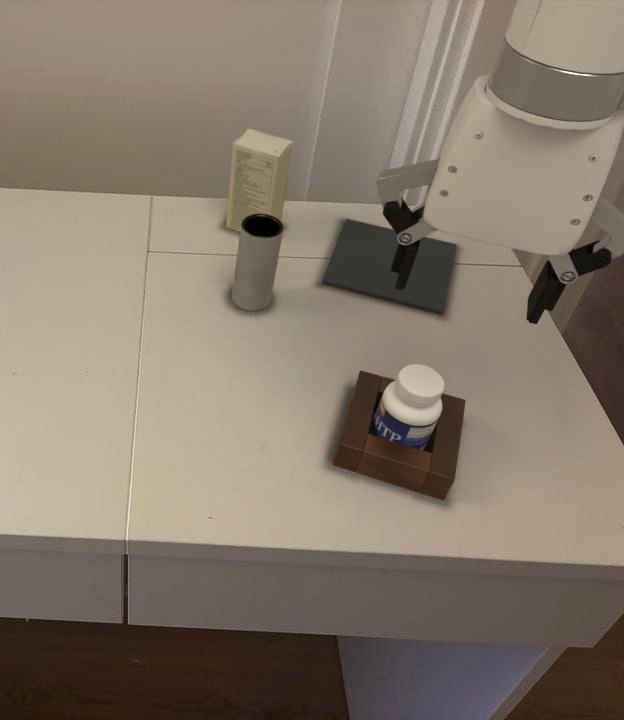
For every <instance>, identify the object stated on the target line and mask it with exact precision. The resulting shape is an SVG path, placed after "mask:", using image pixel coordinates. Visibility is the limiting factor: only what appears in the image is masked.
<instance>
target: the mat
mask: <svg viewBox="0 0 624 720" xmlns="http://www.w3.org/2000/svg"><path fill="white" fill-rule="evenodd" d="M397 236H398V235H397V234H396V232H395V231H394V230H393V228H388V227H384V226H379V225H376V224H371V223H367V222H363V221H358V220H355V219H349V218H345V221H344V224H343V226H342V228H341V231H340V234H339V236H338V239H337V242H336V244H335V247H334V249H333V252H332V255H331V258H330V260H329V262H328V265H327V268H326V271H325V273H324V276H323V278H322V281H321V284H322V285H325V286H328V287H332V288H335V289H339V290H343V291H348V292H352V293H356V294H360V295H363V296H367V297H370V298H375V299H378V300H383V301H386V302H389V303H390V302H391V303H394V304H399V305H402V306H405V307H408V308H409V307H410V308H413V309H416V310H421V311H424V312H425V311H426V312H428V313H429V312H430V313H432V314H437V315H440V316H442V315H443V314H444V311H445V306H446V302H447V295H448V290H449V285H450V282H451V281H450V280H451V275H452V270H453V264H454V260H455V253H456V248H457V244H456V243H453V242H449V241H444V240H440V239H436V238H432V237H427V236H425V237H423V238H421V240H420V245H419V249H418V252H417V255H416V258H415V261H414V264H413V267H412V270H411V272H410V275H409V278H408V281H407V284H406V287H405V289H402V290H398V289H395V285H396V282H397V278H398V274H399V273H396V272H392V271H390V270H391V266H392V263H393V259H394V256H395V253H396V250H397V247H398V244H399V242H398V241H397Z"/></svg>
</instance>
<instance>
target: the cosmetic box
mask: <svg viewBox="0 0 624 720" xmlns="http://www.w3.org/2000/svg"><path fill="white" fill-rule="evenodd" d="M293 145H294V141H293V140H292V139H291V140H290V139H287V138H283V137H280V136H276V135H274V134H270V133H267V132H266V133H265V132H263V131H260V130H259V131H258V130H254V129H251V128H247V129H246V130H245V131H243V133H242V134H240V135H239V136H238V137H237V138H236V139H235V140H234V141H232V150H231V163H230V172H229V173H230V175H229V187H228V199H227V209H226V222H225V223H226V224H225V227H226V228H228V229H230V230H233V231H236V232H239V233H240V229H241V222H242V220H243V219H244V218H245V217H247V216H249V215H252V214H268V215H271V216H274V217H276V218H277V219H279V220H280V221H281V222H282V220H283V214H284V207H285V199H286V193H287V185H288V180H289V173H290V167H291V166H290V165H291V159H292V151H293Z"/></svg>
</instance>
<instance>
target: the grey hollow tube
mask: <svg viewBox="0 0 624 720" xmlns="http://www.w3.org/2000/svg"><path fill="white" fill-rule="evenodd" d="M284 229H285V228H284V224H283V222H282V220H281V221H280V220H279V219H277V218H276V217H274V216H271V215H268V214H252V215H249V216H247V217H245V218H244V219H243V220H242V222H241V229H240V232H239V236H238V237H239V238H238V244H237V250H236V251H237V252H236V259H235V260H236V262H235V267H234V275H233V281H232V282H233V283H232V289H231V300H232V302H233V304H235V306H237V307H238V308H240V309H241V310H244V311H251V312H258V311H262V310H264V309H266V308H267V307H269V305H270V304H271V301H272V300H271V299H272V296H273V289H274V285H275V279H276V272H277V268H278V262H279V258H280V252H281V246H282V240H283V235H284Z"/></svg>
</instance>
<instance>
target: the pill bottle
mask: <svg viewBox="0 0 624 720" xmlns="http://www.w3.org/2000/svg"><path fill="white" fill-rule="evenodd" d="M394 380H395V381H393V382H392V383H390V384H389V385H388V386H387V387H386V389H385V391H384V393H383V395H382V398H381V401H380V404H379V406H378V409H377V412H376V414H375V413H374V414H375V415H374V418H373V420H372V421H371V422H372V423H371V424H370V427H369V431H368V434H370V435H373V436H376V437H379V438H383V439H386V440H389V441H392V442H396V443H399V444H402V445H406V446H409V447H412V448H415V449H419V450H422V451H425V449H426V448H427V447H426V446H428V440H429V438H430V436H431V434H432V432H433V430H434V427H435V425H436V423H437V421H438V419H439V417H440V415H441V412H442V401H441V398H440V397H441V395H442V394H443V392H444V390H445V381H444V378H443V377H442V375H441V374H440V373H439V372H438V371H437V370H435V369H434V368H432V367H430V366H428V365H423V364H419V363H418V364H415V363H413V364H407V365H406V366H404V367H402V368H401V369H400V371H399V372H398V374H397V377H396V379H394Z"/></svg>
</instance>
